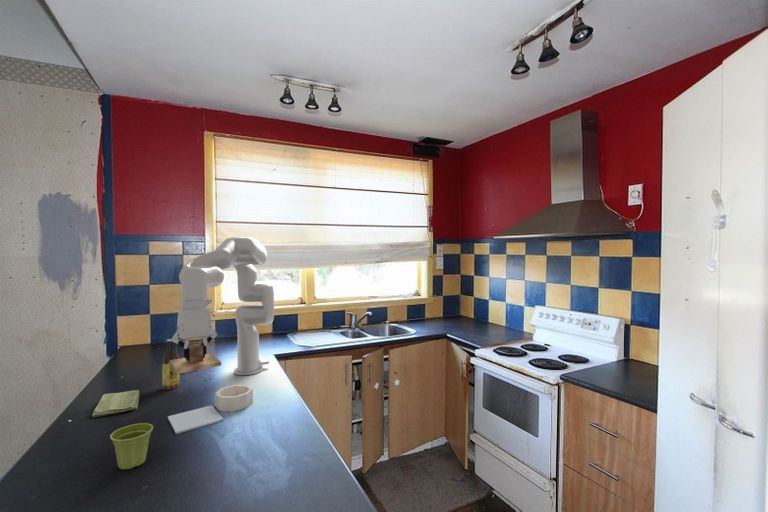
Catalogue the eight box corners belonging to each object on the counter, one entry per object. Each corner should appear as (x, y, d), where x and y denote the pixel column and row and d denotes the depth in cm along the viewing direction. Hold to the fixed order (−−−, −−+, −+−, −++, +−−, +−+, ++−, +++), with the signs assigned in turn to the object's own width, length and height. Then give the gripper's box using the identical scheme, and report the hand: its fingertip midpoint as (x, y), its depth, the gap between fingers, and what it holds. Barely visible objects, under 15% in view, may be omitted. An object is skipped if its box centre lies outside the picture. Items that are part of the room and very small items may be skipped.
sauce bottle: (171, 391, 147) (171, 342, 146) (158, 389, 148) (158, 341, 148) (183, 385, 153) (183, 338, 153) (170, 384, 154) (170, 337, 154)
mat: (211, 406, 132) (211, 405, 132) (223, 420, 121) (223, 418, 121) (167, 418, 123) (167, 416, 123) (175, 434, 112) (175, 432, 112)
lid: (210, 356, 131) (210, 339, 131) (221, 365, 121) (221, 347, 121) (169, 363, 123) (169, 345, 122) (177, 373, 113) (177, 353, 112)
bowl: (245, 395, 142) (245, 382, 142) (256, 405, 133) (256, 391, 133) (212, 403, 135) (212, 390, 135) (222, 414, 126) (221, 400, 125)
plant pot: (124, 454, 101) (124, 423, 101) (160, 452, 102) (159, 422, 102) (101, 474, 92) (101, 441, 92) (140, 473, 92) (140, 439, 92)
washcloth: (90, 420, 122) (90, 411, 122) (100, 401, 137) (100, 393, 137) (137, 412, 128) (137, 403, 128) (142, 395, 144) (142, 386, 144)
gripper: (218, 300, 130) (218, 351, 130) (164, 305, 119) (164, 360, 119) (224, 303, 124) (224, 356, 124) (168, 308, 113) (168, 366, 113)
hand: (195, 357), depth 122 cm, fingers closed on lid, 4 cm apart
